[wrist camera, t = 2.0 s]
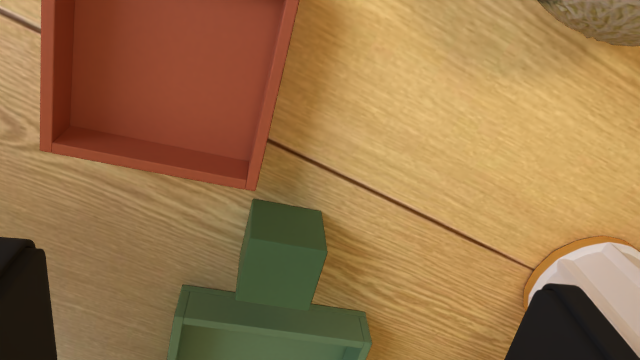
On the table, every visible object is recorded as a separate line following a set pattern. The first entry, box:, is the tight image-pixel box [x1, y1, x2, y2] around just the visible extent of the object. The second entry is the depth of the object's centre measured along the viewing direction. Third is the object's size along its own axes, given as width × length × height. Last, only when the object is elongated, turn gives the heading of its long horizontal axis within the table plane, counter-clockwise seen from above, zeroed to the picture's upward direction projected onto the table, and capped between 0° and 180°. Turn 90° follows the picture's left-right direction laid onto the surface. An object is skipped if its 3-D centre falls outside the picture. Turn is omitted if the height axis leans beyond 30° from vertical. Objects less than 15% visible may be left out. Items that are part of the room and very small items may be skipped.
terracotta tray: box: [40, 0, 299, 191], centre depth 25 cm, size 11×11×3 cm
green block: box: [235, 199, 328, 311], centre depth 30 cm, size 4×4×4 cm
